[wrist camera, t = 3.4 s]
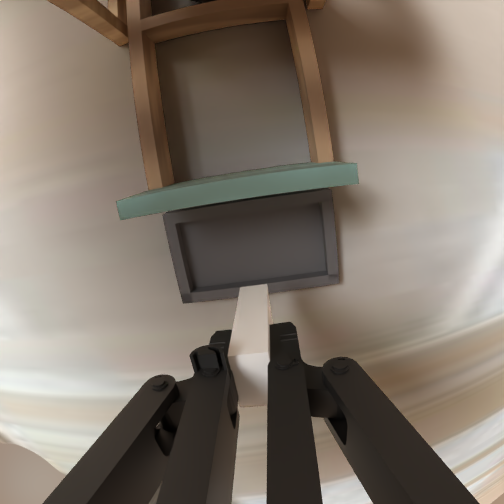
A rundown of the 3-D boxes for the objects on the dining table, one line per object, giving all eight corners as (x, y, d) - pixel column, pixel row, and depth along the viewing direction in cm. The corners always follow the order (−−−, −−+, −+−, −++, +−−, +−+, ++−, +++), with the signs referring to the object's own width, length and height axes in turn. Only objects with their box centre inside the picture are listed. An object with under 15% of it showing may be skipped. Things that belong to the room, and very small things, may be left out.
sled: (137, -47, 16) (103, -93, 9) (272, -74, 15) (274, -129, 8) (164, 198, 23) (120, 220, 15) (326, 174, 22) (358, 183, 14)
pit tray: (168, 211, 23) (162, 214, 22) (327, 187, 23) (331, 189, 21) (187, 295, 25) (182, 303, 24) (335, 276, 25) (339, 283, 23)
